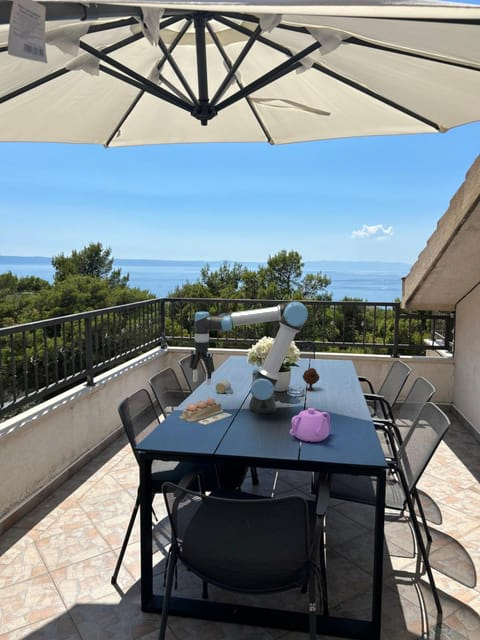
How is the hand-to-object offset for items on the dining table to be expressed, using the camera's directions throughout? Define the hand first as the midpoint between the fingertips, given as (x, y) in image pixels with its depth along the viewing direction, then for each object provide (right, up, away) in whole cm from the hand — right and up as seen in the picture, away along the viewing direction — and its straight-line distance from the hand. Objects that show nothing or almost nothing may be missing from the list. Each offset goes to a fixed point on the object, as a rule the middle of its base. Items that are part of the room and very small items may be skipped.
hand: (201, 383), depth 244 cm
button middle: (0, -14, +2) cm, 14 cm away
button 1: (-5, -14, -4) cm, 16 cm away
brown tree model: (+66, -13, +55) cm, 87 cm away
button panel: (0, -17, +2) cm, 17 cm away
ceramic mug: (+11, -13, +48) cm, 50 cm away
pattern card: (+7, -18, -5) cm, 20 cm away
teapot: (+54, -22, -31) cm, 66 cm away
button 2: (+4, -13, +7) cm, 16 cm away
